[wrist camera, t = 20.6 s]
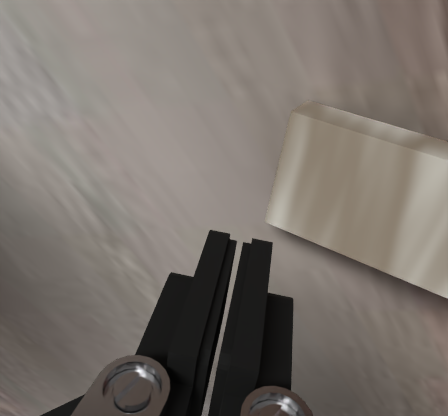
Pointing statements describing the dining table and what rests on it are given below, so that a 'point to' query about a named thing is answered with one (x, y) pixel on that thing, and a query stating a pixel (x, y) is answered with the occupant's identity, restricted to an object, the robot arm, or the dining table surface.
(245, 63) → the dining table surface
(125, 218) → the dining table surface
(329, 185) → the domino
